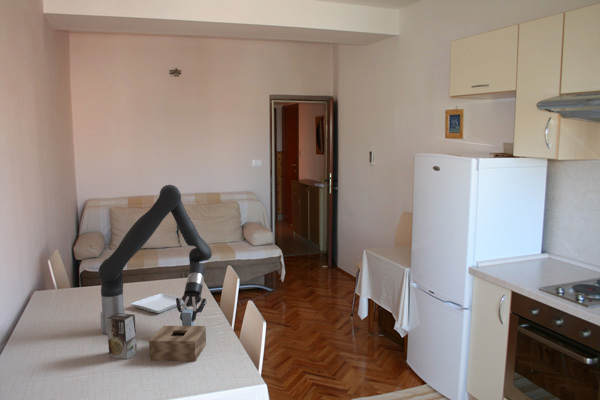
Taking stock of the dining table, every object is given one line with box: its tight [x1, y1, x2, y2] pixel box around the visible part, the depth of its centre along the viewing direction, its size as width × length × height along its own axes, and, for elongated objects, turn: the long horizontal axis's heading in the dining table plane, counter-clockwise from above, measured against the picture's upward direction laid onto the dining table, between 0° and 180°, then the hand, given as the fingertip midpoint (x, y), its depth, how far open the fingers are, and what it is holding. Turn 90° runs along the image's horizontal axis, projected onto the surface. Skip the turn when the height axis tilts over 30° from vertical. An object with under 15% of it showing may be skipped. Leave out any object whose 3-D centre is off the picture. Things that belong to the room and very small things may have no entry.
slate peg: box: [181, 309, 195, 326], centre depth 210 cm, size 4×4×10 cm
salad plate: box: [130, 292, 184, 314], centre depth 254 cm, size 21×21×3 cm
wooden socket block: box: [148, 325, 207, 362], centre depth 196 cm, size 18×16×8 cm
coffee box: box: [106, 313, 138, 360], centre depth 194 cm, size 9×6×16 cm
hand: (187, 320), depth 209 cm, fingers closed on slate peg, 4 cm apart
